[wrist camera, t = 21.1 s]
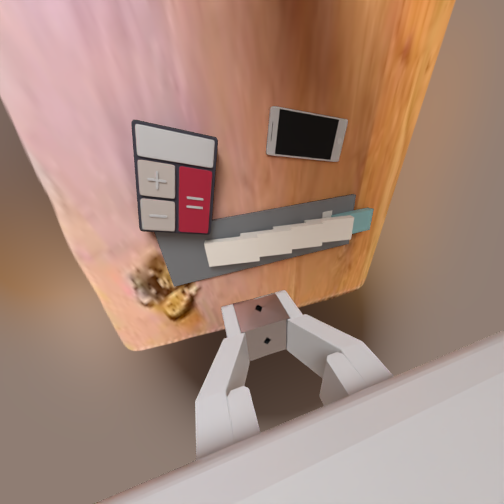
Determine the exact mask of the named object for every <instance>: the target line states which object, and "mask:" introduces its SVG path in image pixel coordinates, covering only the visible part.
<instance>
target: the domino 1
mask: <svg viewBox="0 0 504 504" xmlns="http://www.w3.org/2000/svg"><path fill="white" fill-rule="evenodd" d="M204 246H205V251H206V255H207V259H208V263H209V267H212V266H221V265H229V264H238V263H247V262H255V261H260V257H259V247H258V237H257V235H248V236H239V237H231V238H222V239H213V240H205V242H204Z"/></svg>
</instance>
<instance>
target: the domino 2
mask: <svg viewBox="0 0 504 504" xmlns="http://www.w3.org/2000/svg"><path fill="white" fill-rule="evenodd" d="M248 235H257V237H258V247H259V257H263V256H272V255H280V254H288V253H292V230H291V228H290V227H289V228H281V229H272V230H264V231H256V232H247V233H240V236H248Z"/></svg>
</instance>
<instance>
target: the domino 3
mask: <svg viewBox="0 0 504 504" xmlns="http://www.w3.org/2000/svg"><path fill="white" fill-rule="evenodd" d="M323 225H324V223H322V222H321V221H317V222H308V223H300V224H291V225H283V226H274V227H273V229H281V228H289V227H290V228H291V230H292V249H300V248H309V247H317V246H322V238H323Z"/></svg>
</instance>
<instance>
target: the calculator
mask: <svg viewBox="0 0 504 504" xmlns="http://www.w3.org/2000/svg"><path fill="white" fill-rule="evenodd" d="M132 136H133V149H134V162H135V175H136V189H137V202H138V215H139V228H140V230H141V231H147V232H165V233H182V234H199V235H209V234H210V233H211V223H212V210H213V197H214V184H215V171H216V158H217V145H218V140H217V138H216V137H212V136H208V135H203V134H199V133H194V132H189V131H185V130H180V129H176V128H171V127H166V126H162V125H157V124H153V123H148V122H144V121H139V120H133V121H132Z"/></svg>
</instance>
